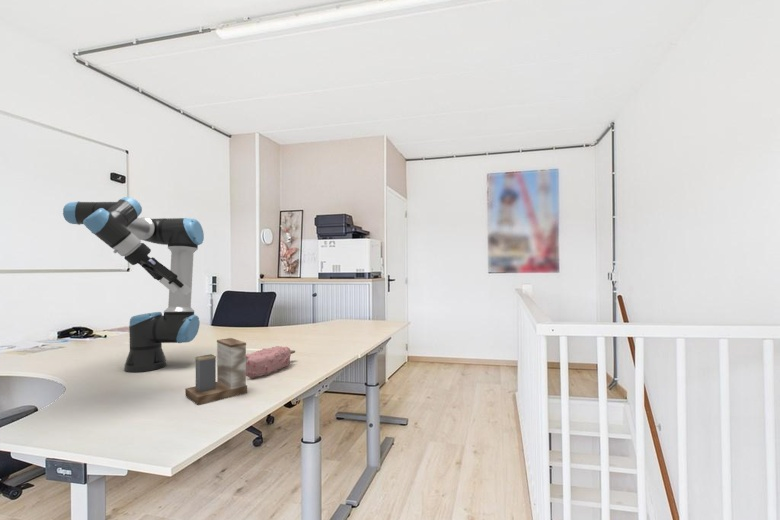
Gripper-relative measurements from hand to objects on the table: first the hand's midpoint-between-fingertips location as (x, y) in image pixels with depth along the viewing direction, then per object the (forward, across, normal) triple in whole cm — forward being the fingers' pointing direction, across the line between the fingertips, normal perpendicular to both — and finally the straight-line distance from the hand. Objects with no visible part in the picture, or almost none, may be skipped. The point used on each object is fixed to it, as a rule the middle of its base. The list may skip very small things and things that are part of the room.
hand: (182, 291), depth 139 cm
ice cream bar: (+48, +2, -2) cm, 48 cm away
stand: (+28, +17, -21) cm, 39 cm away
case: (+24, +17, -21) cm, 36 cm away
